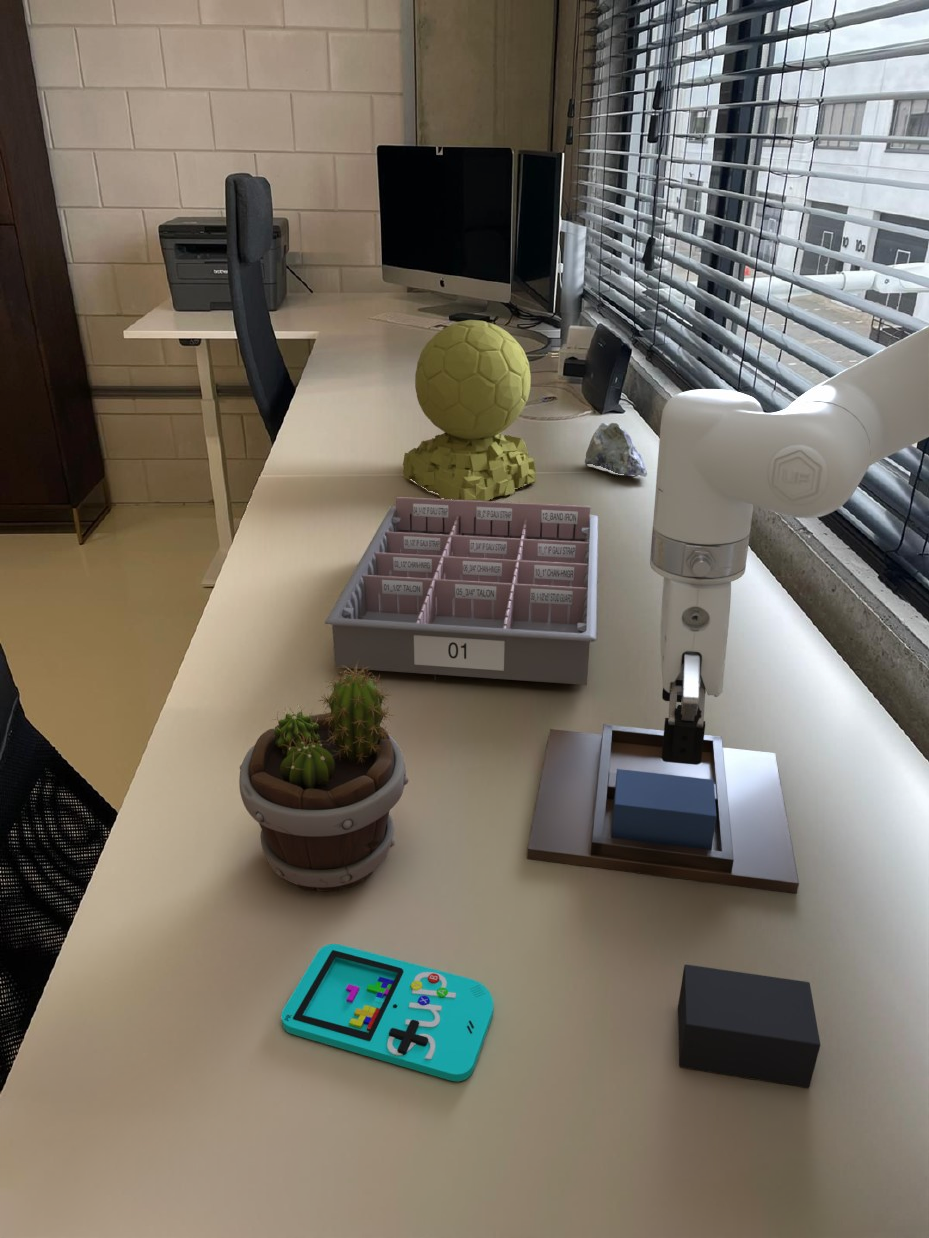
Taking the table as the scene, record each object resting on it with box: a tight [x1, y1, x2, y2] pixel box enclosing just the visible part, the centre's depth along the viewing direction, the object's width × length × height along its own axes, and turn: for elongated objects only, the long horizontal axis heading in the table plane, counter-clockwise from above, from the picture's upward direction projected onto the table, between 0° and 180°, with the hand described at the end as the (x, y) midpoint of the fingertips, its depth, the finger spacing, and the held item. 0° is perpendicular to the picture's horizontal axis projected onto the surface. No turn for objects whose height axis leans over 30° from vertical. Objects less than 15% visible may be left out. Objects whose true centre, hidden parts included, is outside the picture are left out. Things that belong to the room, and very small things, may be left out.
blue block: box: [611, 769, 717, 850], centre depth 88 cm, size 9×6×4 cm, turn 79°
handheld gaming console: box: [281, 943, 494, 1082], centre depth 72 cm, size 8×1×15 cm
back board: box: [526, 723, 800, 894], centre depth 93 cm, size 24×20×3 cm
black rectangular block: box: [677, 963, 821, 1089], centre depth 68 cm, size 9×6×4 cm, turn 79°
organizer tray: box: [324, 496, 599, 686], centre depth 129 cm, size 32×40×10 cm
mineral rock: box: [584, 422, 648, 478], centre depth 183 cm, size 13×11×10 cm
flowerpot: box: [238, 659, 409, 892], centre depth 83 cm, size 14×15×20 cm
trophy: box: [402, 319, 537, 501], centre depth 174 cm, size 22×22×30 cm
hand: (680, 729), depth 83 cm, fingers open, 9 cm apart
